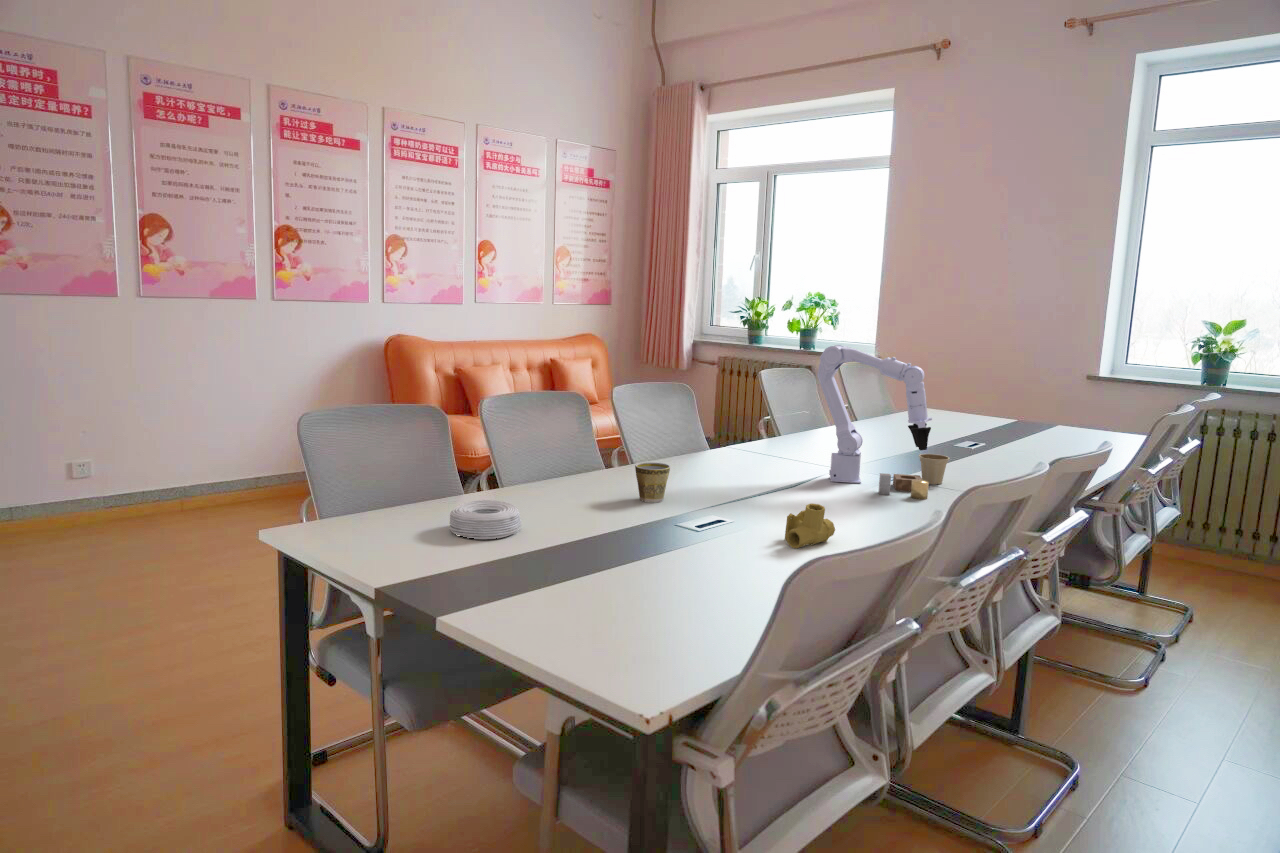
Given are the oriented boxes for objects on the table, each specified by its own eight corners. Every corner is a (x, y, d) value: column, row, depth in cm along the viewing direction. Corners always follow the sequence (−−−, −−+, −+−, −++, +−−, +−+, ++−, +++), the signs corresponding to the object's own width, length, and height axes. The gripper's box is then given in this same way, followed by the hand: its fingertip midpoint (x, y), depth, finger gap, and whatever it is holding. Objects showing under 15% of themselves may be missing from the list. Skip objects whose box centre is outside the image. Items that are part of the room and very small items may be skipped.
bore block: (895, 490, 265) (896, 479, 265) (892, 484, 273) (893, 473, 272) (922, 491, 264) (923, 480, 263) (918, 486, 272) (919, 475, 271)
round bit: (911, 499, 254) (912, 482, 254) (909, 495, 259) (910, 479, 258) (928, 500, 254) (929, 483, 253) (926, 496, 258) (927, 480, 257)
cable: (490, 518, 223) (489, 495, 222) (536, 531, 212) (536, 507, 211) (435, 531, 209) (434, 507, 208) (481, 546, 198) (481, 521, 198)
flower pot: (951, 486, 273) (953, 459, 271) (921, 485, 273) (923, 459, 272) (941, 479, 282) (944, 454, 281) (913, 479, 282) (915, 453, 281)
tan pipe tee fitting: (835, 545, 209) (803, 530, 216) (840, 506, 205) (808, 492, 213) (801, 557, 201) (769, 541, 208) (806, 517, 198) (774, 502, 205)
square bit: (879, 494, 259) (880, 475, 258) (878, 492, 262) (879, 473, 261) (889, 495, 258) (890, 475, 257) (888, 493, 261) (889, 473, 260)
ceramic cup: (665, 505, 240) (666, 470, 238) (631, 502, 242) (631, 468, 240) (673, 494, 252) (674, 461, 251) (640, 492, 254) (641, 459, 252)
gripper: (933, 405, 257) (938, 450, 258) (926, 401, 271) (931, 444, 272) (909, 408, 259) (914, 452, 260) (903, 404, 273) (908, 446, 274)
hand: (921, 448), depth 266 cm, fingers open, 7 cm apart
